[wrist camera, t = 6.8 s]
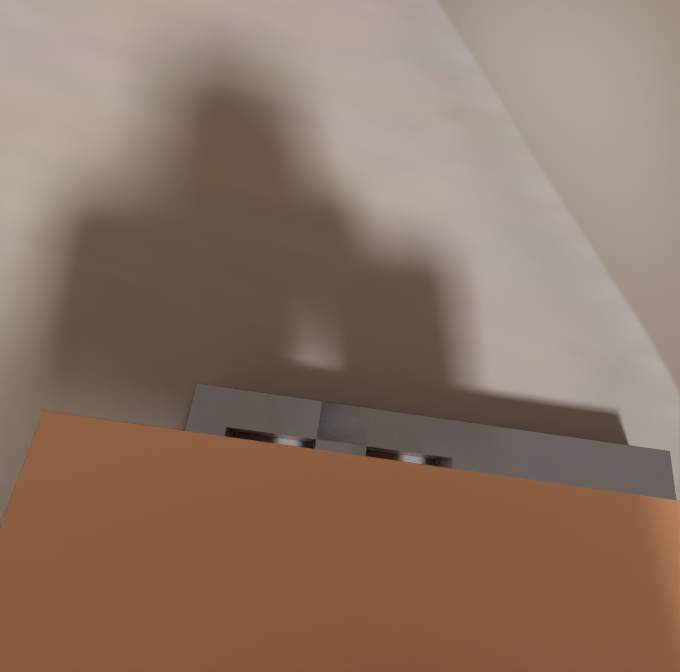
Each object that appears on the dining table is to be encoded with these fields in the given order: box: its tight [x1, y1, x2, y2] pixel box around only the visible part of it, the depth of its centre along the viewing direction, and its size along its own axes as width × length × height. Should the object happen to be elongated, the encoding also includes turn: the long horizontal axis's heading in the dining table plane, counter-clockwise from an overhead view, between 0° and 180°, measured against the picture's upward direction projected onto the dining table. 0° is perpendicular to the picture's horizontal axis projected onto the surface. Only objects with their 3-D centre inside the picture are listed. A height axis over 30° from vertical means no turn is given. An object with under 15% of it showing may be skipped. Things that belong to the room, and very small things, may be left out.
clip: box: [0, 411, 680, 672], centre depth 8 cm, size 7×4×13 cm, turn 83°
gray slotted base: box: [185, 384, 676, 500], centre depth 16 cm, size 20×9×2 cm, turn 83°
